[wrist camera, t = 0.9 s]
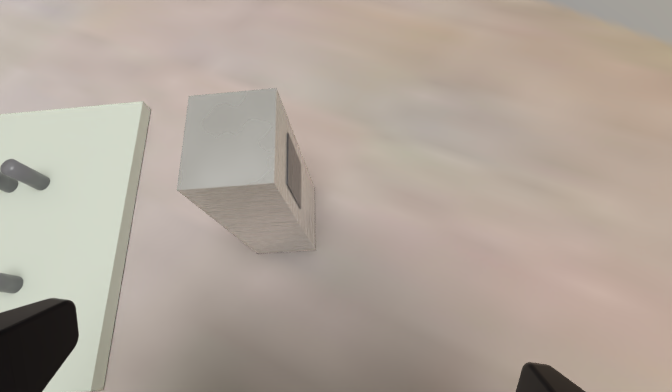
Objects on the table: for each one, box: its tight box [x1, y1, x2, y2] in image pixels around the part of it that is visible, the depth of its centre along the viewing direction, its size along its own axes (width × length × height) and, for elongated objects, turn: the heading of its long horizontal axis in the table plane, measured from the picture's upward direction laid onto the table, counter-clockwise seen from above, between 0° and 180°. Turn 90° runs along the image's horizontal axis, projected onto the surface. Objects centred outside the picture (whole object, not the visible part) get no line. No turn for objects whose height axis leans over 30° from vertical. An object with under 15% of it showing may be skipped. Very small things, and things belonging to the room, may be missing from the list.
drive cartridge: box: [177, 88, 316, 254], centre depth 19 cm, size 4×4×10 cm
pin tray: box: [0, 101, 151, 392], centre depth 23 cm, size 14×18×4 cm
